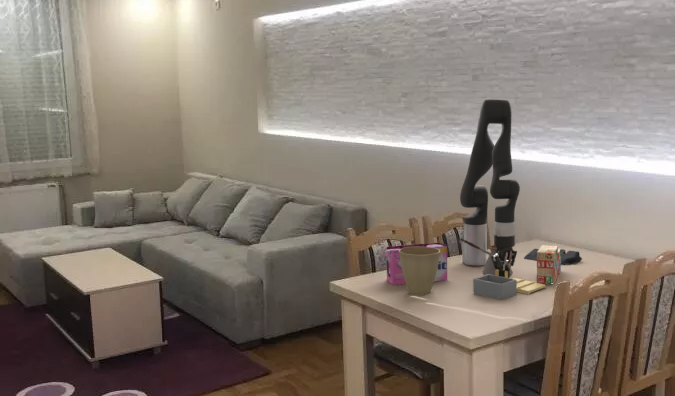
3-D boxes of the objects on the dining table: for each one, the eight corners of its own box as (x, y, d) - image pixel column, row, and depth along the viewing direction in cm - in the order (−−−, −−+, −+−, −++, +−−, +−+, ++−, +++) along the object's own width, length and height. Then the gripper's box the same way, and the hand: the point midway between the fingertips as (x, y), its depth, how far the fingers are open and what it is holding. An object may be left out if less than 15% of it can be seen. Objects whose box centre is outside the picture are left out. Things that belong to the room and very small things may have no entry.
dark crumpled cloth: (538, 253, 320) (538, 243, 319) (585, 260, 304) (585, 249, 304) (520, 259, 309) (520, 249, 308) (568, 267, 294) (568, 255, 293)
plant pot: (430, 301, 250) (429, 256, 248) (392, 295, 258) (391, 252, 256) (447, 290, 263) (446, 248, 260) (410, 285, 270) (410, 244, 268)
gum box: (389, 285, 272) (388, 250, 270) (383, 280, 280) (382, 246, 278) (448, 280, 277) (447, 245, 275) (440, 275, 285) (440, 242, 283)
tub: (473, 295, 256) (473, 278, 255) (488, 290, 262) (488, 274, 261) (501, 301, 247) (501, 284, 246) (516, 296, 253) (516, 279, 252)
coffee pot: (516, 277, 278) (516, 239, 276) (507, 284, 268) (507, 245, 266) (464, 271, 289) (464, 235, 287) (453, 278, 279) (453, 240, 277)
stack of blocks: (544, 270, 289) (545, 240, 287) (560, 271, 286) (561, 241, 284) (536, 283, 269) (536, 251, 268) (553, 284, 267) (554, 252, 265)
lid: (488, 286, 265) (488, 272, 264) (505, 280, 273) (505, 266, 272) (528, 296, 253) (529, 281, 252) (545, 289, 260) (545, 275, 259)
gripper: (506, 229, 271) (506, 273, 274) (484, 235, 262) (484, 281, 264) (523, 231, 266) (523, 277, 268) (502, 237, 256) (501, 284, 259)
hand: (504, 278), depth 266 cm, fingers closed on lid, 2 cm apart
